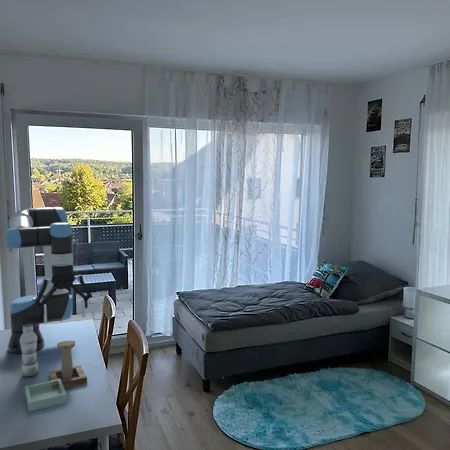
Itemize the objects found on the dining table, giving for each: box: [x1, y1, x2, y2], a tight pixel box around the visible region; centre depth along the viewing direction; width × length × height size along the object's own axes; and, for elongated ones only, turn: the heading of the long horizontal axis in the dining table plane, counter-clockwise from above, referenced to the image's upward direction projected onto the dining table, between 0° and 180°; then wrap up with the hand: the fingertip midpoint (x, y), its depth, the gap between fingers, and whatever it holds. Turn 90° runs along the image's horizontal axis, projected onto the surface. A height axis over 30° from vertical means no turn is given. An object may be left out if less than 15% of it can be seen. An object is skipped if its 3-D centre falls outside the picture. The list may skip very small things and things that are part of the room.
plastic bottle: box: [20, 324, 40, 377], centre depth 165 cm, size 6×7×20 cm
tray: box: [24, 378, 68, 413], centre depth 148 cm, size 13×12×3 cm
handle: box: [56, 340, 76, 381], centre depth 160 cm, size 5×6×15 cm
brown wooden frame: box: [48, 364, 88, 390], centre depth 161 cm, size 12×12×2 cm
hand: (65, 319), depth 158 cm, fingers open, 13 cm apart
